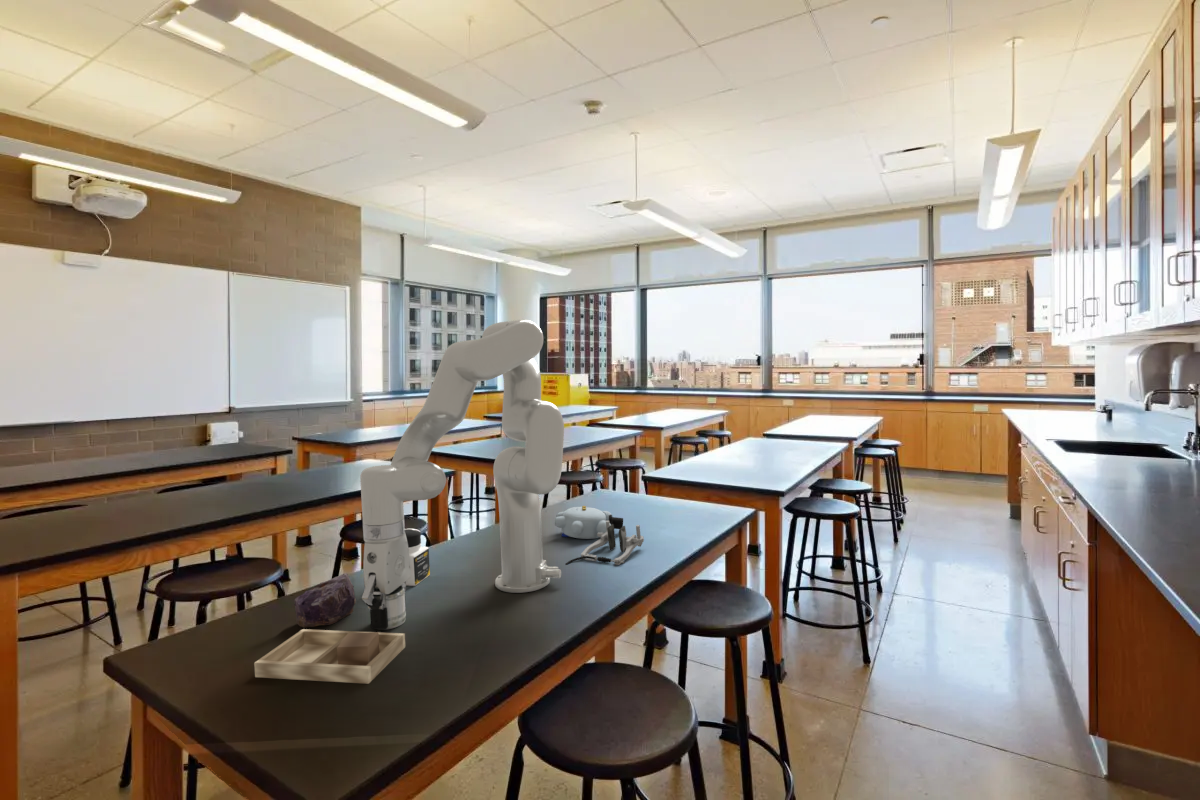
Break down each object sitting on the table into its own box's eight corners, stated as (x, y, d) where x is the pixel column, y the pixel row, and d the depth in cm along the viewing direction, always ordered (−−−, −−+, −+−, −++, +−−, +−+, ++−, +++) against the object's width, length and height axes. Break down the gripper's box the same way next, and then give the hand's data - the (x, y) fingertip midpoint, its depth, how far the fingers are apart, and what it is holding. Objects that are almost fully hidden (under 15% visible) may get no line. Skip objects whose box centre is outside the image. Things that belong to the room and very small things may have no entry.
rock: (294, 631, 115) (320, 643, 109) (283, 592, 114) (309, 602, 108) (348, 602, 125) (375, 611, 119) (339, 565, 123) (366, 573, 117)
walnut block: (379, 654, 101) (378, 632, 101) (368, 669, 96) (367, 646, 96) (350, 655, 101) (349, 633, 100) (338, 670, 96) (336, 647, 95)
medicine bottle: (415, 586, 134) (412, 535, 133) (387, 585, 136) (384, 534, 135) (430, 575, 141) (428, 526, 140) (403, 574, 143) (401, 526, 142)
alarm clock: (551, 542, 163) (621, 548, 163) (553, 512, 163) (624, 518, 162) (557, 525, 180) (621, 530, 180) (559, 498, 180) (623, 503, 179)
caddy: (405, 650, 103) (404, 633, 103) (368, 688, 92) (367, 668, 91) (303, 646, 106) (302, 629, 106) (255, 681, 95) (254, 662, 94)
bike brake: (605, 539, 163) (566, 572, 146) (603, 516, 162) (563, 548, 145) (649, 546, 156) (613, 582, 139) (647, 523, 155) (610, 556, 138)
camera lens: (391, 617, 118) (389, 579, 117) (413, 623, 115) (411, 584, 114) (365, 630, 112) (362, 590, 112) (387, 636, 109) (384, 596, 109)
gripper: (378, 544, 103) (384, 642, 104) (422, 518, 120) (426, 602, 121) (339, 543, 104) (345, 640, 105) (388, 517, 121) (393, 601, 123)
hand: (389, 619), depth 113 cm, fingers closed on camera lens, 6 cm apart
